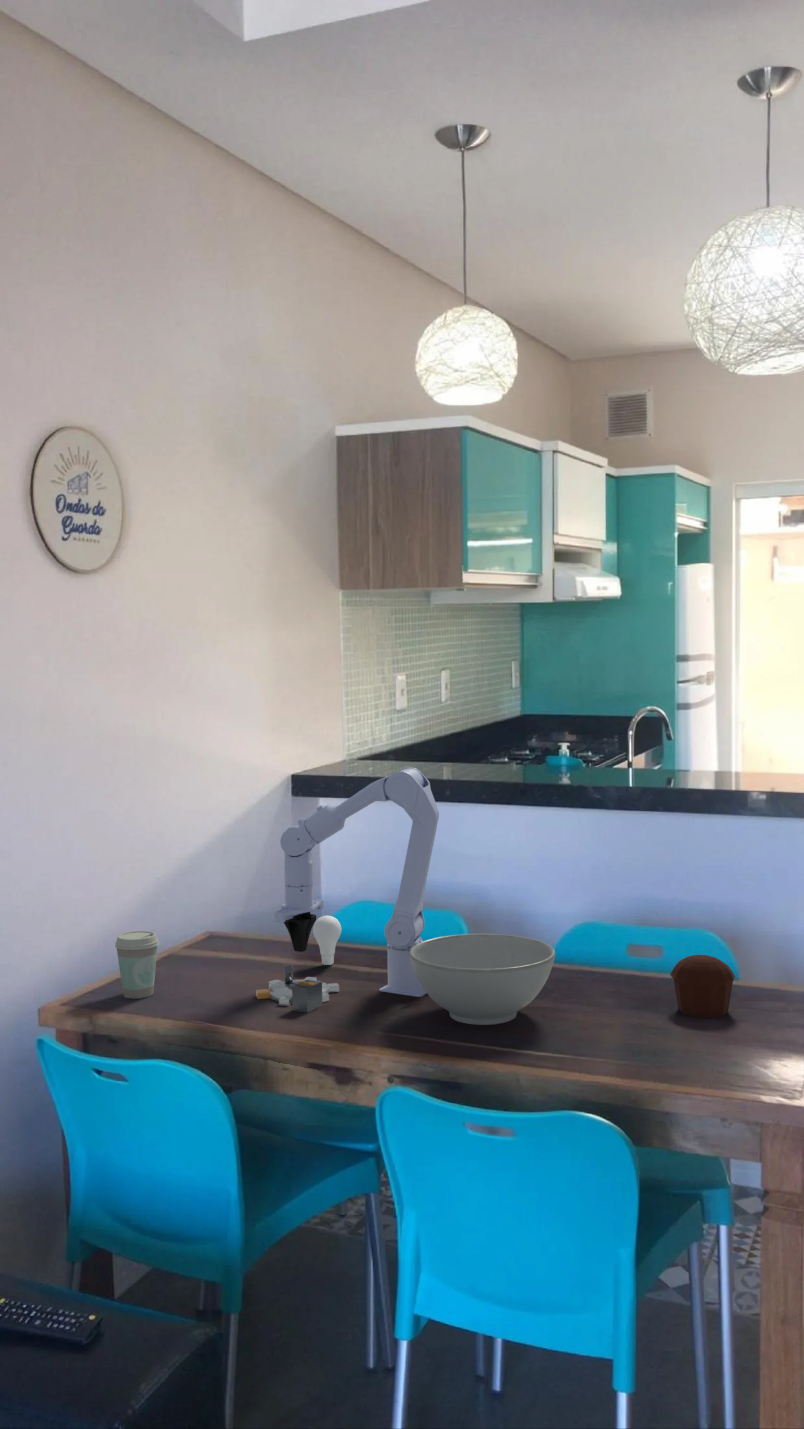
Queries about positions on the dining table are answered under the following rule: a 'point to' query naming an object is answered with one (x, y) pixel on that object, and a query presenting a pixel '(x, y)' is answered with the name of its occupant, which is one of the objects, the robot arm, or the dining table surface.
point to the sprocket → (284, 988)
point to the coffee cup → (137, 962)
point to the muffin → (703, 986)
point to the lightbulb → (327, 937)
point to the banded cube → (307, 996)
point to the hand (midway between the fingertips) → (300, 950)
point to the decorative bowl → (482, 974)
